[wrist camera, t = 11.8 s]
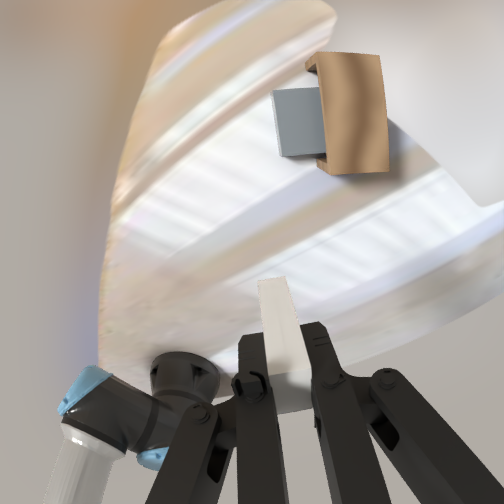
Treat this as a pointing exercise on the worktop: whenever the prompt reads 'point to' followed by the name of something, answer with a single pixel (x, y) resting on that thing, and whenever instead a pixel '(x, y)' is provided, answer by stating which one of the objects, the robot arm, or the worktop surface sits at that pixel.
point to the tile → (299, 121)
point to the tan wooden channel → (352, 112)
